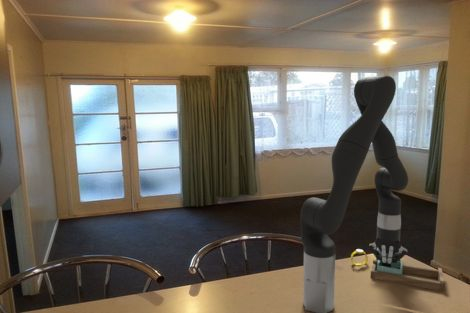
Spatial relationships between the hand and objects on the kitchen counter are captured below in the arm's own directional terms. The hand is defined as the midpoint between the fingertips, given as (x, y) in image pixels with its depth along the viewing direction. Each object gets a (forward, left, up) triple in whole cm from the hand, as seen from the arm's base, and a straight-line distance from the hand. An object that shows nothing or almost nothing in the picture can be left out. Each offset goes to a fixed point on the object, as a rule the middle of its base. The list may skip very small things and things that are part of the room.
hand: (386, 272), depth 125 cm
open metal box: (+10, 0, -2) cm, 10 cm away
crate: (0, -1, -1) cm, 1 cm away
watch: (+5, +10, -2) cm, 11 cm away
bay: (0, -6, -2) cm, 6 cm away
